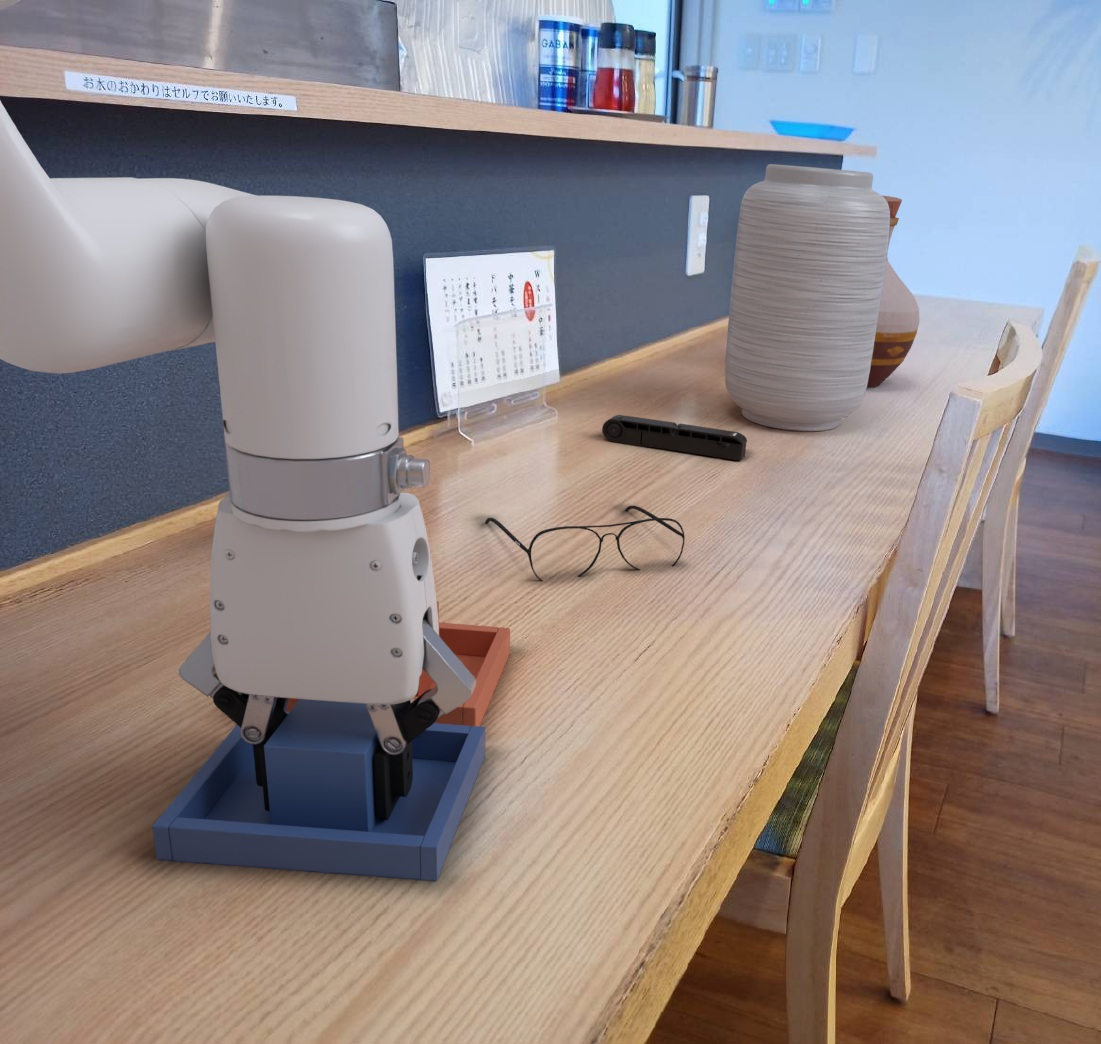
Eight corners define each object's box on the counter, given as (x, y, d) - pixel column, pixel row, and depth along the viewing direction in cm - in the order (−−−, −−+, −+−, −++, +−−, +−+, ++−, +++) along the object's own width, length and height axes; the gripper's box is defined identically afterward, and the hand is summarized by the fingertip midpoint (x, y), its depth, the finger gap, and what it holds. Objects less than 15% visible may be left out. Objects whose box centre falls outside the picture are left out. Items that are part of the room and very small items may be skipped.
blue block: (270, 829, 50) (263, 745, 49) (308, 771, 55) (303, 693, 53) (369, 836, 51) (364, 753, 49) (398, 778, 55) (395, 700, 53)
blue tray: (157, 869, 48) (150, 825, 47) (253, 746, 58) (249, 708, 57) (437, 891, 48) (436, 847, 47) (485, 764, 58) (485, 726, 57)
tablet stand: (601, 440, 123) (602, 417, 122) (608, 435, 125) (609, 412, 124) (740, 462, 119) (743, 438, 118) (746, 456, 121) (748, 433, 120)
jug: (802, 364, 178) (823, 189, 167) (902, 374, 177) (929, 198, 166) (802, 388, 160) (825, 193, 149) (914, 399, 158) (945, 203, 148)
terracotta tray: (250, 727, 60) (246, 690, 59) (317, 645, 70) (314, 612, 69) (475, 745, 60) (475, 707, 59) (510, 660, 70) (510, 627, 69)
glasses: (527, 590, 81) (526, 531, 80) (483, 543, 94) (481, 492, 92) (686, 571, 87) (688, 516, 86) (624, 529, 100) (624, 481, 99)
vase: (691, 412, 139) (711, 159, 128) (775, 394, 154) (800, 166, 142) (809, 446, 128) (843, 171, 116) (889, 423, 142) (926, 177, 130)
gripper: (513, 465, 50) (510, 770, 56) (175, 439, 50) (210, 747, 56) (480, 516, 43) (481, 858, 49) (86, 486, 43) (138, 833, 49)
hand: (336, 796), depth 53 cm, fingers closed on blue block, 5 cm apart
